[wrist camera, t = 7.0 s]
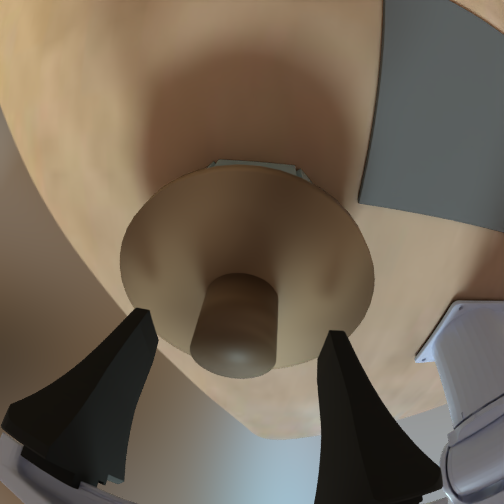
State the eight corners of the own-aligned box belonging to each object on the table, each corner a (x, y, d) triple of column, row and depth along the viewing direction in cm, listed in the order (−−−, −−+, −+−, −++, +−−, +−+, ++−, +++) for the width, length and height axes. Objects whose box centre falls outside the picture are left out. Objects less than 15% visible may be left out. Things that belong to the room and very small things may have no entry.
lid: (407, 195, 9) (453, 251, 6) (326, 366, 16) (330, 420, 13) (113, 154, 9) (52, 193, 6) (145, 339, 16) (125, 389, 13)
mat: (542, 69, 6) (544, 70, 6) (507, 231, 13) (509, 234, 13) (382, -25, 6) (384, -27, 6) (357, 201, 14) (358, 203, 14)
